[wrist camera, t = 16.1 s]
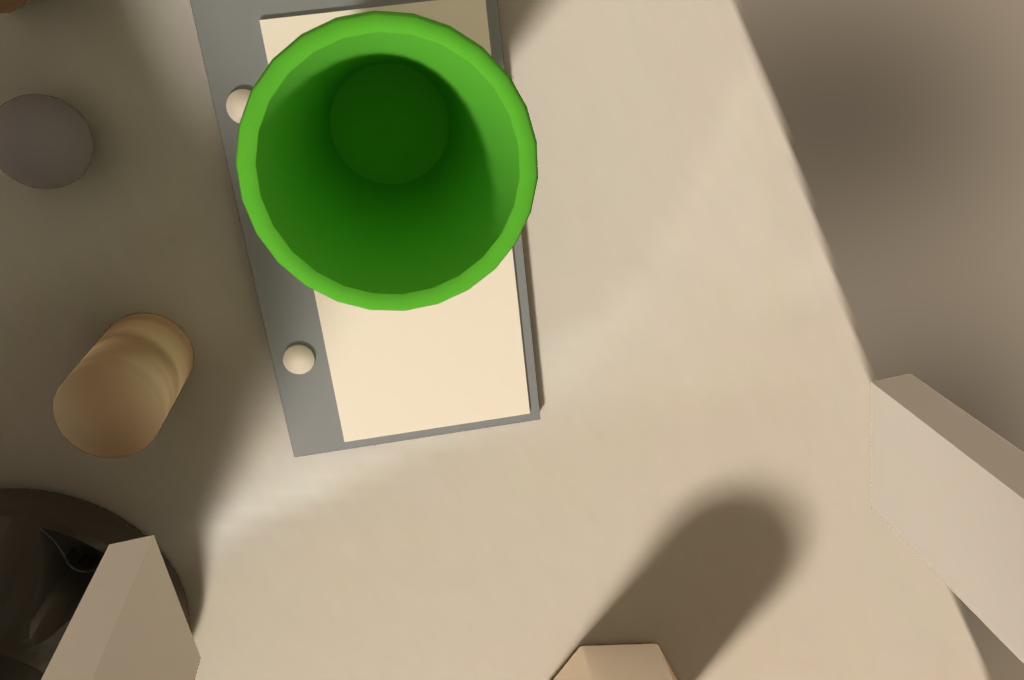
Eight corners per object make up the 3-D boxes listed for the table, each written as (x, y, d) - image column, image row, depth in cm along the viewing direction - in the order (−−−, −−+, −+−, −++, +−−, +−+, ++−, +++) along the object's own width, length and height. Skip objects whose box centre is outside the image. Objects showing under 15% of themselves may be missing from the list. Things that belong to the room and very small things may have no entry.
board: (295, 451, 42) (293, 459, 41) (127, -287, 30) (121, -294, 30) (538, 413, 43) (541, 421, 42) (463, -315, 31) (464, -322, 31)
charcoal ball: (27, 184, 36) (-11, 203, 32) (-2, 95, 34) (-43, 105, 31) (115, 173, 36) (87, 190, 33) (90, 84, 35) (59, 93, 31)
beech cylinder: (115, 400, 40) (70, 465, 34) (89, 320, 38) (38, 373, 33) (203, 387, 40) (173, 449, 34) (181, 307, 38) (146, 358, 33)
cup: (422, -39, 34) (437, -55, 24) (535, 158, 37) (590, 218, 27) (233, 84, 35) (168, 120, 24) (361, 266, 38) (351, 364, 28)
